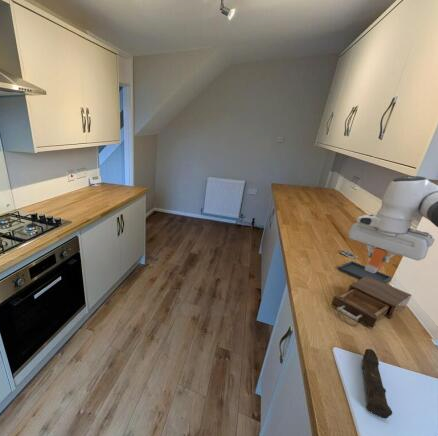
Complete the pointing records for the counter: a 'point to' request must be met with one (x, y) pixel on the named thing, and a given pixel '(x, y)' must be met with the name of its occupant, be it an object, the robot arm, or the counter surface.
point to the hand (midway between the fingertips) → (377, 259)
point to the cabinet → (382, 294)
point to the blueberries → (348, 254)
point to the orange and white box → (376, 260)
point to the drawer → (360, 307)
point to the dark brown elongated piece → (374, 386)
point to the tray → (362, 272)
